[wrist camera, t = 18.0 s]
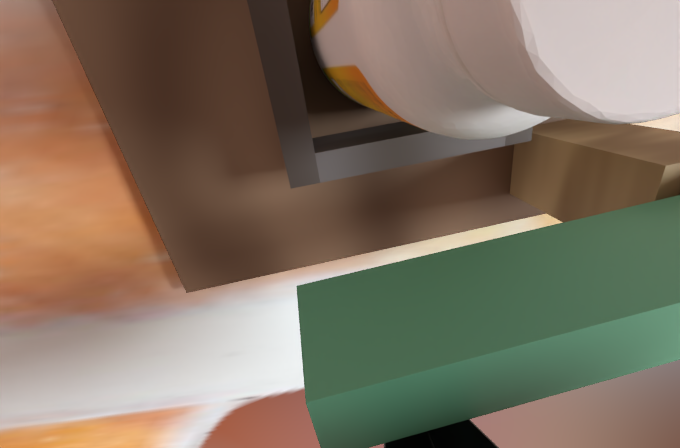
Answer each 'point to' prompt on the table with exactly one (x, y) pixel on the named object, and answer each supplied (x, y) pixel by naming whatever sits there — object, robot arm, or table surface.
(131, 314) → the table surface
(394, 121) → the bottle stand
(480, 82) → the supplement bottle
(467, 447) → the robot arm
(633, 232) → the keeper arm
